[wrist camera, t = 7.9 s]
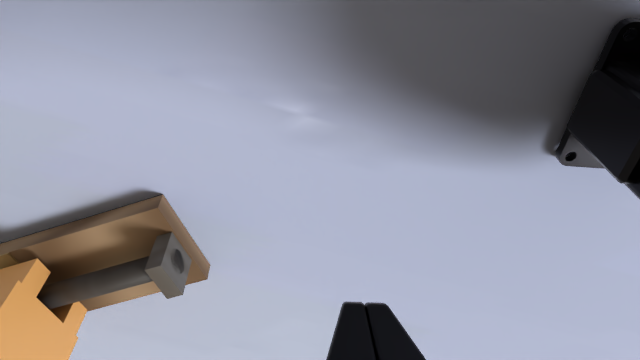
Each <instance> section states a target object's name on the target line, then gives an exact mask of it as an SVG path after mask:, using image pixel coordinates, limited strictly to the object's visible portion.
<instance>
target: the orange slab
mask: <svg viewBox="0 0 640 360" xmlns="http://www.w3.org/2000/svg"><path fill="white" fill-rule="evenodd" d="M50 273H51V272H50V271H49V270H48V269H47V268H46V267H45V266H44V265H43V264H42V263H41V262H40V261H39V260H38V258H37V259H34V260H30V261H27V262H23V263H20V264H16V265H13V266H10V267H6V268H3V269H0V360H68V359H69V357H70V355H71V353H72V350H73V348H74V346H75V344H76V342H77V339H78V337H77V336H76V334H77V332H78V329H79V327H80V325H81V323H82V321H83V319H84V316H85V314H86V312H87V309H86V308H85V307H84V306H83V305H82V304H81V303H80V302H75V303H71V304H68V305H64V306H60V307H57V308H53V309H48V308H47V307H46V306H45V305H44V304H43V303H42V302H41V301H40V300H38V299H37V298H36V297H37V295H38V293H39V292H40V290H41V288H42V286H43V285H44V283H45V281H46V280H47V278H48V276H49V275H50Z"/></svg>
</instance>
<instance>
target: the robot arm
mask: <svg viewBox="0 0 640 360" xmlns="http://www.w3.org/2000/svg"><path fill="white" fill-rule="evenodd" d="M629 29H631V32H630V33H629V35H628V36H626V37H625V38H623V36H624V33H625V32H626V31H627V30H629ZM570 152H572V153H571V154H570V155H569V156H566V155H567V154H568V153H570ZM565 156H566V157H565ZM556 158H557V159H558V160H559V162H560V163H561V164H562V165H565V166H576V167H591V168H605V169H606V170H607V171H608V172H609V173H610V174H611V175H612V176H613V177H614V178H615V179H616V180H617V181H618V182H620V183H624V184H625V185H626V186H627V187H628V188H629V189H630V190H631V191H632V192H633V193H634V194H635V195H636V196H637V197H638V198H639V199H640V19H631V18H630V19H624V20H622V21H620V22H619V23H618V24H616V25H615V27H614V28H613V30H612V32H611V34H610V36H609V38H608V40H607V43H606V45H605V47H604V49H603V51H602V53H601V56H600V58H599V60H598V62H597V64H596V66H595V69H594V71H593V73H592V74H591V75H590V77H589V79H588V81H587V84H586V86H585V88H584V90H583V92H582V94H581V97H580V99H579V101H578V103H577V105H576V107H575V110H574V112H573V114H572V116H571V118H570V121H569V123H568V125H567V129H566V131H565V134H564V136H563V138H562V140H561V142H560V144H559V147H558V149H557V151H556ZM326 360H426V359H425V358H424V356H423V355H422V353H421V352H420V351H419V349H418V348H417V346H416V345H415V343H414V342H413V341H412V339H411V338H410V336H409V335H408V334H407V332H406V331H405V329H404V328H403V326H402V325H401V324H400V322H399V321H398V319H397V318H396V317H395V315H394V314H393V312H392V311H391V309H390V308H389V307H388V306H387V305H386V304H385V303H369V302H368V303H366V304H365V305H364V304H363V303H361V302H344V303H343V304H342V307H341V311H340V314H339V318H338V321H337V325H336V328H335V332H334V335H333V338H332V342H331V345H330V349H329V352H328V356H327V359H326Z"/></svg>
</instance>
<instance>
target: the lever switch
mask: <svg viewBox="0 0 640 360" xmlns="http://www.w3.org/2000/svg"><path fill="white" fill-rule="evenodd" d="M37 258H38V260H39V261H40V262H41V263H42V264H43V265H44V266H45V267H46V268H47V269H48V270H49V271H50V272H51V273H50V275H49V276H48V278H47V280H46V281H45V283H44V285H43V286H42V288H41V290H40V292H39V293H38V295H37V297H36V298H37V299H38V300H40V301H41V302H42V303H43V304H44V305H45V306H46V307H47V308H48V309H53V308H57V307H60V306H64V305H68V304H71V303H75V302H80V303H81V304H82V305H83V306H84V307H85V308H86V309H87V311H90V310H94V309H98V308H102V307H105V306H109V305H113V304H117V303H120V302H124V301H128V300H132V299H135V298H139V297H143V296H146V295H150V294H154V293H158V292H162V293H163V294H164V295H165V297H166V298H167V299H168V298H172V297H176V296H179V295H183V292H184V288H185V285H188V284H191V283H195V282H199V281H202V280H206V279H207V278H208V273H209V268H210V264H209V263H208V261H207V260H206V258H205V257H204V255H203V254H202V252H201V251H200V249H199V248H198V246H197V245H196V243H195V242H194V240H193V239H192V237H191V236H190V234H189V233H188V231H187V230H186V228H185V227H184V225H183V224H182V222H181V221H180V219H179V218H178V216H177V215H176V213H175V212H174V210H173V209H172V207H171V206H170V204H169V203H168V201H167V200H166V198H165V197H164V195H160V196H157V197H153V198H150V199H147V200H143V201H140V202H137V203H134V204H130V205H127V206H124V207H120V208H117V209H114V210H110V211H107V212H104V213H101V214H97V215H94V216H91V217H87V218H84V219H81V220H77V221H74V222H71V223H67V224H64V225H61V226H58V227H54V228H51V229H48V230H44V231H41V232H38V233H34V234H31V235H28V236H25V237H21V238H18V239H15V240H11V241H8V242H5V243H1V244H0V269H3V268H6V267H10V266H13V265H16V264H20V263H23V262H27V261H30V260H34V259H37Z"/></svg>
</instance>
